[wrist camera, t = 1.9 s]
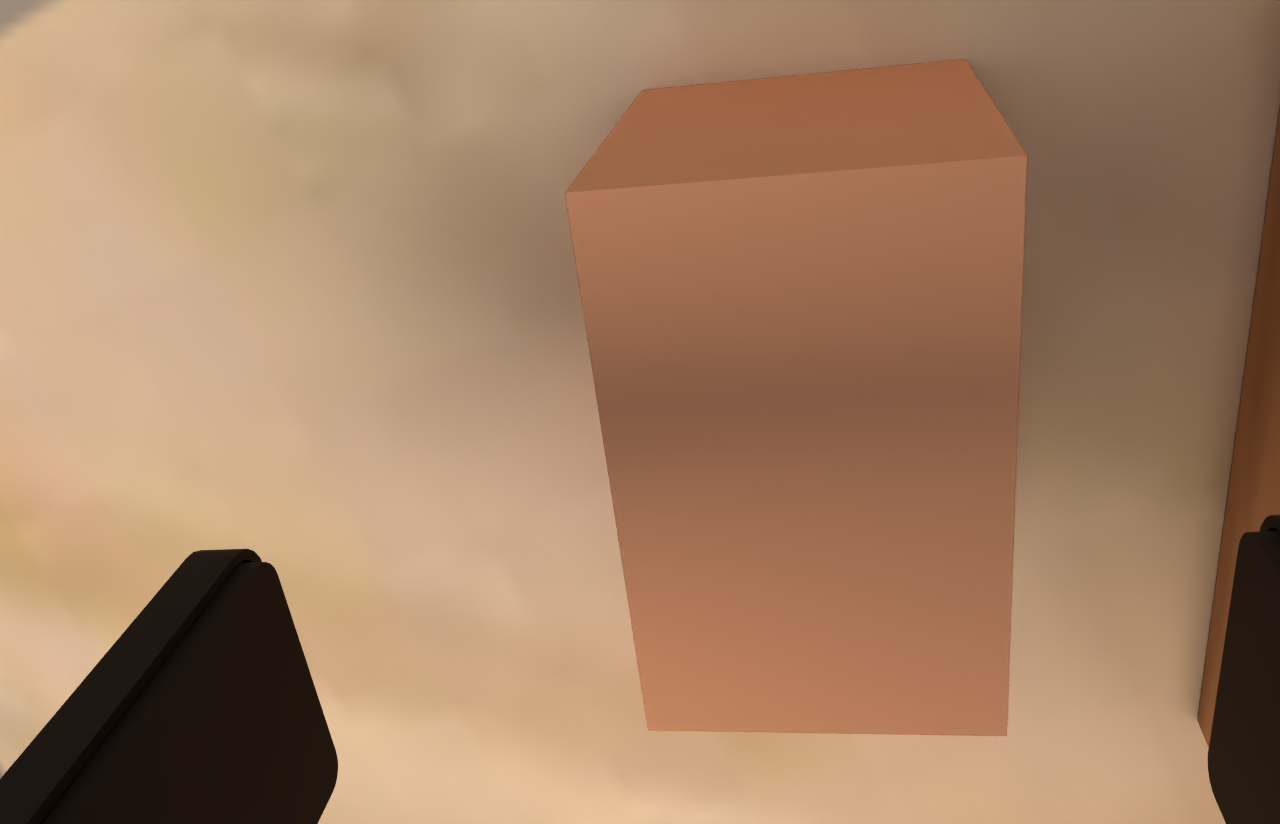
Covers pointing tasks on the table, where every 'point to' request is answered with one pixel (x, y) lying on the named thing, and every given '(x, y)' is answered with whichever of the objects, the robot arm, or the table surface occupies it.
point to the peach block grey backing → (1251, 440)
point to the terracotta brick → (811, 396)
